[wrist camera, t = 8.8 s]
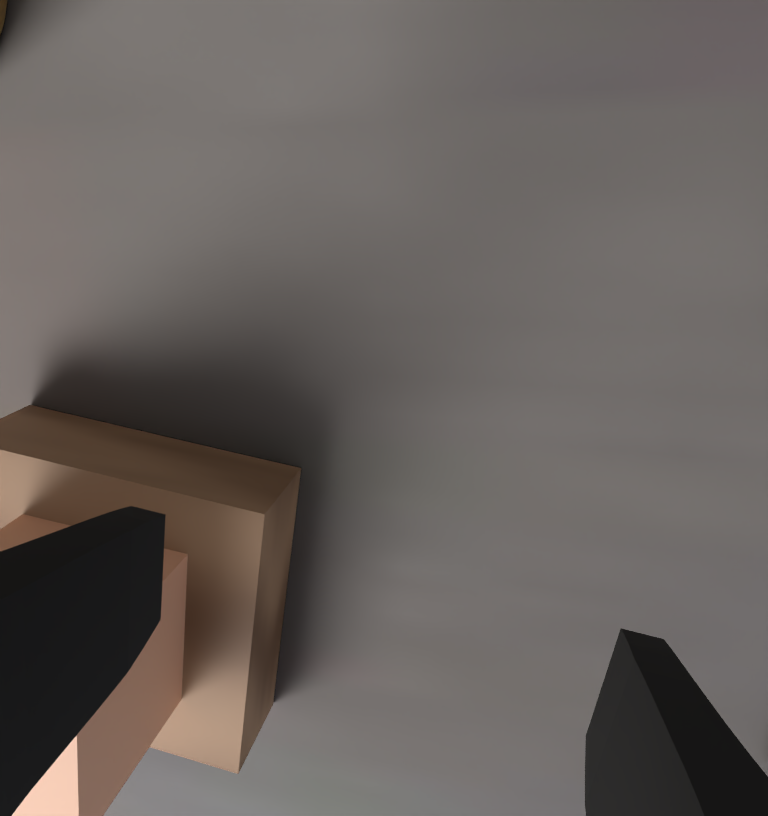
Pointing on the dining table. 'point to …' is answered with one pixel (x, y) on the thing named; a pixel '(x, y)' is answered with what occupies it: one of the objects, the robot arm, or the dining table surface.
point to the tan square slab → (184, 532)
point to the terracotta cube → (114, 702)
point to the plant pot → (2, 13)
